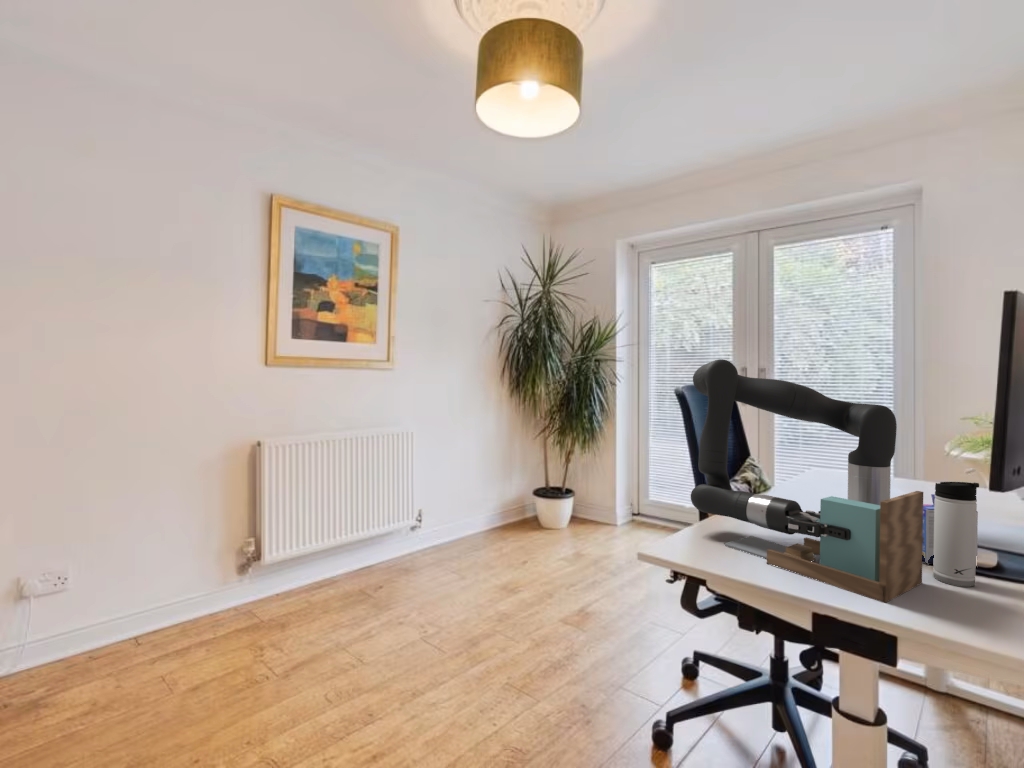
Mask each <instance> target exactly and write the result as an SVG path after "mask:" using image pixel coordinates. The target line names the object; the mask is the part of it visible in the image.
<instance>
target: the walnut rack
mask: <svg viewBox="0 0 1024 768" xmlns="http://www.w3.org/2000/svg"><path fill="white" fill-rule="evenodd" d="M923 504H924V491H921V490H920V491H919V490H915V491H912V492H909V493H905V494H901V495H899V496H895V497H890V499H887V500H884V501H881V503H880V568H879V582H877V581H874V580H870V579H867V578H864V577H860V576H857V575H854V574H850V573H847V572H844V571H841V570H837V569H834V568H831V567H827V566H824V565H821V564H820V563H818V562H815V561H812V562H811V561H808V560H804V559H801V558H798V557H794V556H791V555H788V554H784V553H781V552H778V551H775V550H771V549H768V550H767V559H766V564H767V563H769V564H772V565H775V566H778V567H781V568H784V569H783V570H785V569H787V570H786V571H788V570H790V571H789V572H791V571H793V572H792V573H794V572H796V573H795V574H797V573H799V574H798V575H800V574H801V575H800V576H803V575H804V577H806V576H807V577H806V578H809V577H810V578H809V579H812V578H813V579H812V580H815V579H817V580H816V581H818V580H819V581H818V582H821V581H822V582H821V583H824V582H825V583H824V584H827V585H831V586H832V587H833V586H834V587H836V588H840V589H843V590H845V591H849V592H851V593H854V594H857V595H861V596H864V597H867V598H870V599H873V600H876V601H879V602H881V603H888V602H890V601H891V600H893V599H896V598H897V597H899V596H901V595H902V594H905V593H907V592H908V591H911V590H912V589H914V588H916V587H918V586H920V585H922V584H923V562H922V548H923ZM803 545H805V546H808V547H812V552H813V553H814V555H817V556H820V540H817V539H814V538H811V537H804V538H803ZM769 564H768V565H769ZM772 565H771V566H772ZM775 566H774V567H775ZM778 567H777V568H778ZM781 568H780V569H781Z"/></svg>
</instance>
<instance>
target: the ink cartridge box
mask: <svg viewBox="0 0 1024 768" xmlns="http://www.w3.org/2000/svg"><path fill="white" fill-rule="evenodd" d="M930 496H931V499H932V504H924V503H923V548H922V555H923V556H924V558H925V562H926V563H928V560H929V559H930V557H931V556H933V555H934V499H935V493H934V494H933V493H932V494H930ZM978 515H979V512H978V511H977V514H976V556H977V555H978V531H979V530H978V526H979V525H978V524H979V523H978V517H979V516H978Z"/></svg>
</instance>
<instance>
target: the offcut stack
mask: <svg viewBox="0 0 1024 768" xmlns="http://www.w3.org/2000/svg"><path fill="white" fill-rule="evenodd" d="M784 554H788V555H791V556H794V557H798V558H801V559H804V560H808V561H812V562H814V561H816V557H815V554H814V553H813V552H812V547H808V546H805V545H804V544H802V543H795V544H791V545H788V547H786V552H784ZM813 560H814V561H813Z"/></svg>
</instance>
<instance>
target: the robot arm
mask: <svg viewBox="0 0 1024 768" xmlns="http://www.w3.org/2000/svg"><path fill="white" fill-rule="evenodd" d="M692 383H693V385H694V388H695V389H696V390H697V392H699V393H700V394H702V395H704V396H706V397H707V410H706V417H705V420H704V425H703V426H702V429H701V435H700V438H699V446H698V460H697V461H698V463H697V464H698V466H697V467H698V471H699V473H701V474H703V475H705V478H706V483H702V484H698V485H696V486H695V487H694V488H693V489H692V490H691V492H690V501H691V503H692V505H693V506H694V507H695V508H696V509H697V510H698V511H699V512H702V513H705V514H710V515H715V516H721V517H729V518H732V519H736V520H737V521H741V522H746V523H749V524H752V525H755V526H757V527H759V528H763V529H767V530H772V531H775V532H778V533H782V534H786V535H794V534H798V535H799V534H801V535H806V536H810V537H811V536H812V537H815V538H820V537H821V535H822V536H825V537H827V536H831V537H835V538H839V539H843V540H850V539H851V531H850V529H847V528H843V527H838V526H834V525H829V524H827V523H823V522H820V510H818V512H815V511H814V510H805V511H803V510H802V508H801V505H800V504H799V502H797V501H795V500H791V499H787V498H782V497H777V496H773V495H769V494H768V495H767V494H759V493H753V492H748V491H744V490H743V491H742V490H732V485H731V481H730V477H729V476H730V475H729V473H728V460H729V459H728V457H729V455H728V454H729V438H730V437H729V435H730V426H731V421H732V420H731V418H732V412H733V408H734V402H738V403H742V404H745V405H747V406H751V407H753V408H756V409H760V410H763V411H765V412H766V411H767V412H770V413H772V414H776V415H779V416H782V417H786V418H790V419H792V420H793V419H794V420H798V421H804V422H810V423H817V424H822V425H826V426H828V427H830V428H833V429H834V428H835V429H836V430H839V431H841V432H844V433H847V434H849V435H851V436H854V437H857V438H858V444H857V445H858V446H857V447H856V449H854V450H851V451H850V452H849V453H848V457H847V462H848V463H847V499H849V500H854V501H860V502H865V503H870V504H875V505H880V503H881V501H884V500H887V499H891V467H892V466H891V463H892V460H893V458H894V456H895V453H896V452H895V451H896V443H897V430H898V429H897V427H898V426H897V419H896V416H895V413H894V411H893V410H891V408H890V407H887V406H885V405H883V404H875V403H874V404H873V403H863V402H862V403H860V402H858V403H857V402H850V401H844V400H839V399H834V398H831V397H829V396H826V395H824V394H822V393H821V392H819V391H818V390H816V389H814V388H811V387H808V386H806V385H802V384H799V383H795V382H791V381H787V380H783V379H774V378H773V379H772V378H763V377H762V378H761V377H760V378H759V377H750V376H746V375H745V376H744V375H741V374H739V372H738V370H737V367H736V365H734V363H732V362H731V361H729V360H728V359H727V360H726V359H722V358H721V359H716V360H711V361H709V362H708V363H706V364H703V365H701V366H700V367H698V368H697V369H696V370H695V371H694V373H693V375H692Z"/></svg>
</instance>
